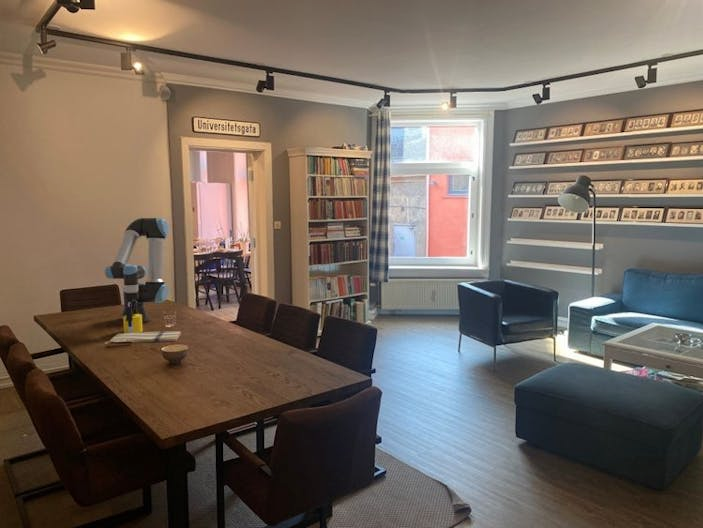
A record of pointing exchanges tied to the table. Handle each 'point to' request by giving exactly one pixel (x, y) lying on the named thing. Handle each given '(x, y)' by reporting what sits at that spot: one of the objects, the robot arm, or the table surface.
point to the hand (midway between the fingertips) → (133, 329)
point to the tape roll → (136, 323)
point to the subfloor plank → (147, 336)
